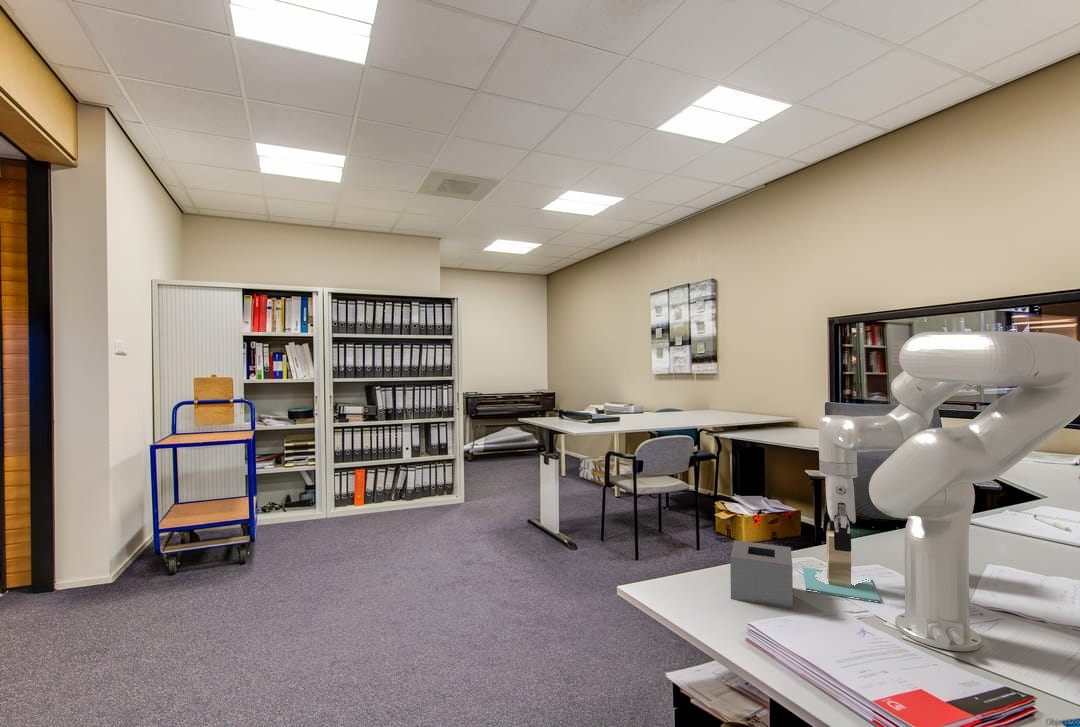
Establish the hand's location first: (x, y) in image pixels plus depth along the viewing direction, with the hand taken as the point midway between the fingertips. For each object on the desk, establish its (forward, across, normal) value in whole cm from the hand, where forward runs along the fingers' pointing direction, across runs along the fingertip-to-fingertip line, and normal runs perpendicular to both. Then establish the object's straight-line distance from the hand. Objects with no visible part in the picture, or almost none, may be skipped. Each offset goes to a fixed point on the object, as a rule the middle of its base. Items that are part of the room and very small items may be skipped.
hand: (840, 544), depth 117 cm
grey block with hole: (+9, -11, +16) cm, 22 cm away
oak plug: (+9, +1, 0) cm, 9 cm away
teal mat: (+9, +1, 0) cm, 9 cm away
